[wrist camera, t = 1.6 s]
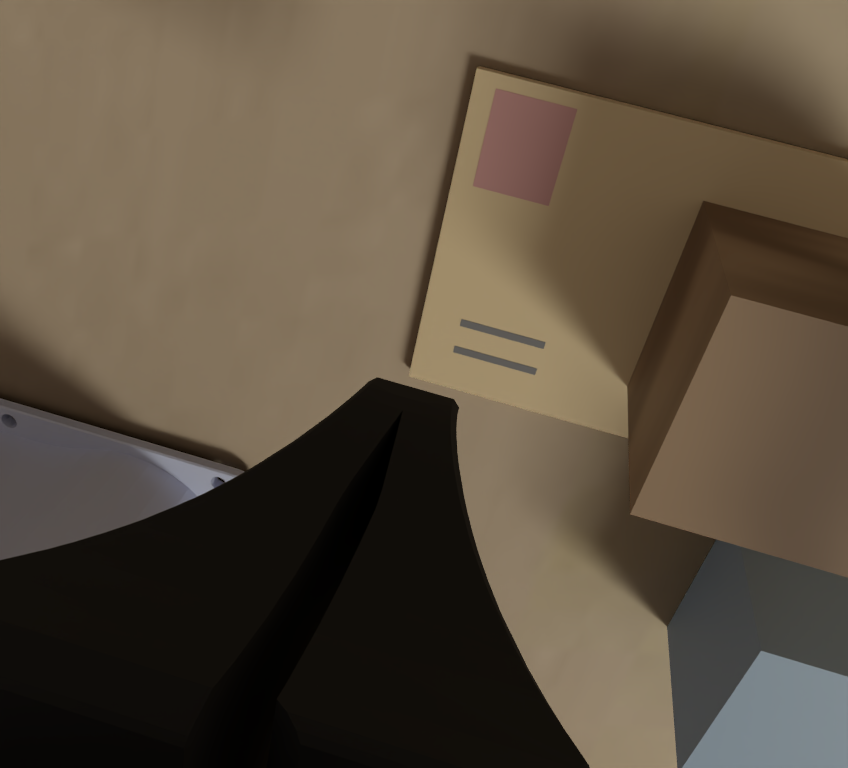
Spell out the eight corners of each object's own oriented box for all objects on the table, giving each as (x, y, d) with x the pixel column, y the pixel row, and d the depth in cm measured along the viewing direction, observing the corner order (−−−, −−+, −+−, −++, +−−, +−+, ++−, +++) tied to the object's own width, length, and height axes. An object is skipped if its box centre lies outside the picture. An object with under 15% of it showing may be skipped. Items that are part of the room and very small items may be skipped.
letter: (411, 370, 21) (408, 376, 21) (478, 65, 17) (476, 67, 17) (851, 495, 21) (854, 502, 20) (1041, 208, 16) (1047, 213, 16)
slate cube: (667, 625, 24) (678, 774, 20) (732, 507, 22) (761, 650, 17) (827, 673, 24) (872, 834, 20) (914, 559, 21) (988, 718, 17)
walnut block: (627, 386, 20) (630, 514, 16) (703, 200, 17) (731, 295, 13) (823, 441, 20) (879, 586, 15) (932, 260, 17) (1037, 377, 13)
